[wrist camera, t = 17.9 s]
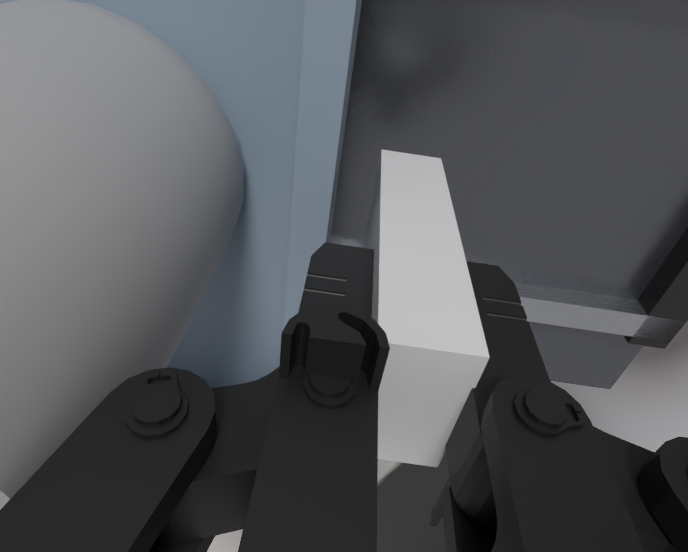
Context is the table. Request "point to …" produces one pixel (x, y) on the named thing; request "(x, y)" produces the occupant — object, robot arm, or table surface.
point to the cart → (262, 159)
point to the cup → (98, 215)
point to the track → (541, 156)
